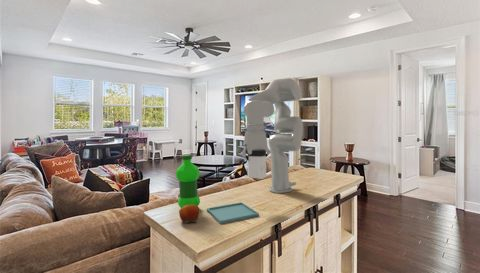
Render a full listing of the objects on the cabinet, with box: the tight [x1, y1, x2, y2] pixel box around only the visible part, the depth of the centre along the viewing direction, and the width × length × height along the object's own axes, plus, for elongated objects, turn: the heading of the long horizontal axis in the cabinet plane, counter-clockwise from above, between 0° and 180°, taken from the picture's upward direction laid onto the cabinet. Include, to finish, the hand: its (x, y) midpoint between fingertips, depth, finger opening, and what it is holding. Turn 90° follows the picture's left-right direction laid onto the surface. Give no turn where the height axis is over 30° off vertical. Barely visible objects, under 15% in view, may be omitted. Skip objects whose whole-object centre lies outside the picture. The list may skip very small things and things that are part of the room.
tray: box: [206, 202, 260, 225], centre depth 111 cm, size 17×17×1 cm
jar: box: [247, 150, 267, 179], centre depth 116 cm, size 9×8×12 cm
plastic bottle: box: [175, 154, 201, 209], centre depth 117 cm, size 10×10×25 cm
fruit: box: [178, 204, 201, 225], centre depth 104 cm, size 8×8×8 cm
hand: (256, 169), depth 116 cm, fingers closed on jar, 4 cm apart
